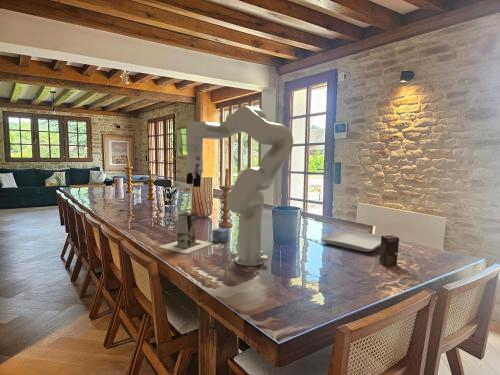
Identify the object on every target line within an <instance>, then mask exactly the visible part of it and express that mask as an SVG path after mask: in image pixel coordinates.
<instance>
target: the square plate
mask: <svg viewBox="0 0 500 375" xmlns="http://www.w3.org/2000/svg"><path fill="white" fill-rule="evenodd" d="M381 236H382V235H381ZM381 236H379V235H375V234H369V233H364V232H359V231H358V232H357V231H351V230H341V231H338V232H334V233H332V234H329V235H326V236H323V237H320V240H321V241H322V242H324V243H325V244H329V245H332V246H335V247H340V248H345V249H349V250H352V251H353V250H354V251H359V252H365V253H366V252H367V253H370V252H372V251H374V250H376V249H377V248H380V247H381Z"/></svg>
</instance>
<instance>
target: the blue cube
mask: <svg viewBox="0 0 500 375" xmlns="http://www.w3.org/2000/svg"><path fill="white" fill-rule="evenodd" d="M211 234H212V236H211V237H212V240H211V241H212V242H216V243H221V244H222V242H223V243H225V242H227V241H229V229H228V228H223V227H217V228H215V229H212V233H211Z"/></svg>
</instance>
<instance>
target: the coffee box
mask: <svg viewBox="0 0 500 375" xmlns="http://www.w3.org/2000/svg"><path fill="white" fill-rule="evenodd" d="M176 216H177V220H176V223H177V228H176V229H177V240H176V241H177V245H176V246H177V248H182V249H188V248H191V247H194V246H196V244H197V243H196V240H197V236H196V235H197V229H196V226H197V225H196V224H197V213H196V212H189V211H188V212H186V211H185V212H181V213H179V214H178V215H176Z"/></svg>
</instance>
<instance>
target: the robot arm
mask: <svg viewBox="0 0 500 375" xmlns="http://www.w3.org/2000/svg"><path fill="white" fill-rule="evenodd" d="M241 133H245V134H246V135H248V136H249V137H250V138H251V139H252V140H254V141H256V143H259V144H261V145H266V146H269V145H270V146H271V147H270V148H269V149H268V150H267V151H266V152H265V153H264V154H263V156H262V158H261V161H260V162H259V163H258V165H257V166H251V167H247V168H245V169H244V170H242V171H241V173H240V174H239V175H238V177H237V179H236V180H235V182H234V184H233V186H232V188H231V190H230V191H229V193H228V196H227V199H226V203H227V208H228V209H229V211H231V212H232V213H234V214H239V217H238V218H239V219H238V255H237V256H236V257H234V263H236V264H237V265H240V266H246V267H255V266H260V265H262V264H264V263H265V262H266V263H268V262H269V255H265V254H264V251H263V250H262V218H263V211H264V210H263V208H264V204H265V197H264V194H263V192H262V191H265V190H268V189H269V188H271V186H272V185H273V183H274V181H275V180H276V178H277V177H278V175H279V173H280V172H281V171H282V168H283V166H284V164H285V163H286V161H287V160H288V159H289V157H290V155H291V154H292V150H293V147H294V137H293V134H292V132H291V130H290V129H289V128H288V127H287V126H286V125H284V124H282V123H276V122H271V121H267V118H266V114H265V112H264V111H263V110H262V109H260V108H259V107H255V106H249V105H242V106H240V107H238V108H237V109H236V110H235V112H234V113H230V114H228V115H227V116H226V117H225V121H221V122H220V121H219V122H215V121H214V122H212V121H201V120H200V121H189V122H187V123H186V138H185V139H186V141H185V142H186V143H185V146H186V147H185V148H186V149H185V152H186V166H185V169H186V171H185V172H186V181H185V182H186V185H193V186H192V187H194V188H200V187H201V184H202V183H201V179H202V174H203V170H204V169H203V168H204V167H203V164H204V163H203V161H204V160H203V149H204V148H203V146H204V145H203V142H204V139H206V140H207V139H208V140H209V139H211V140H221V139H225V138H230V137H233V136H234V135H236V134H241Z"/></svg>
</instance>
